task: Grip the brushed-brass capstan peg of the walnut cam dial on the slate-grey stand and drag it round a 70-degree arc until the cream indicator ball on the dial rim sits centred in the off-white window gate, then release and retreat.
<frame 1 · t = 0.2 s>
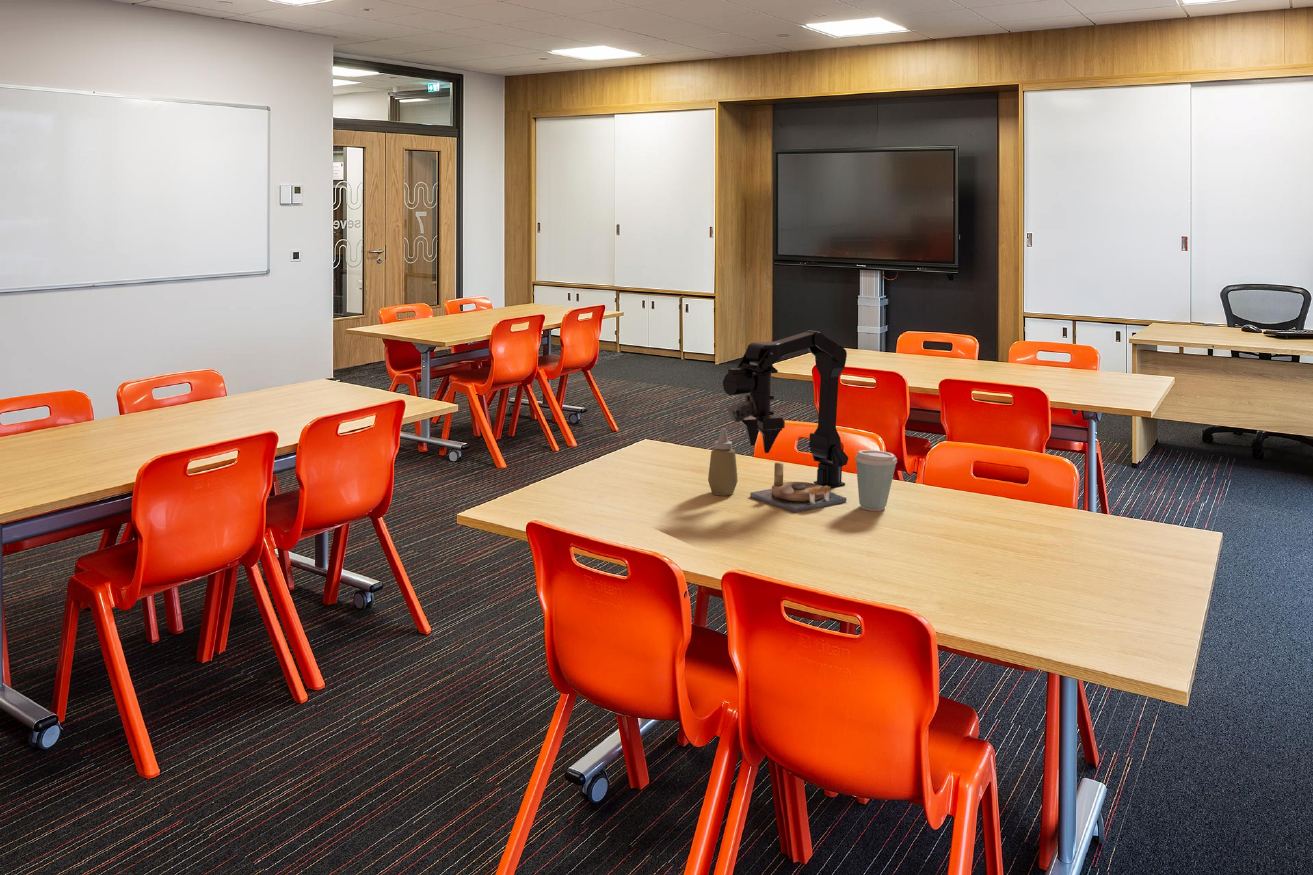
hand: (759, 449, 271), 14 cm above the table, fingers open, 9 cm apart
squeeze bottle: (722, 494, 279), on the table
disposable coffee cup: (873, 508, 265), on the table
level stand: (797, 499, 273), on the table
cam dial: (798, 480, 272), point 5 cm above the table, hinge at -70.0°
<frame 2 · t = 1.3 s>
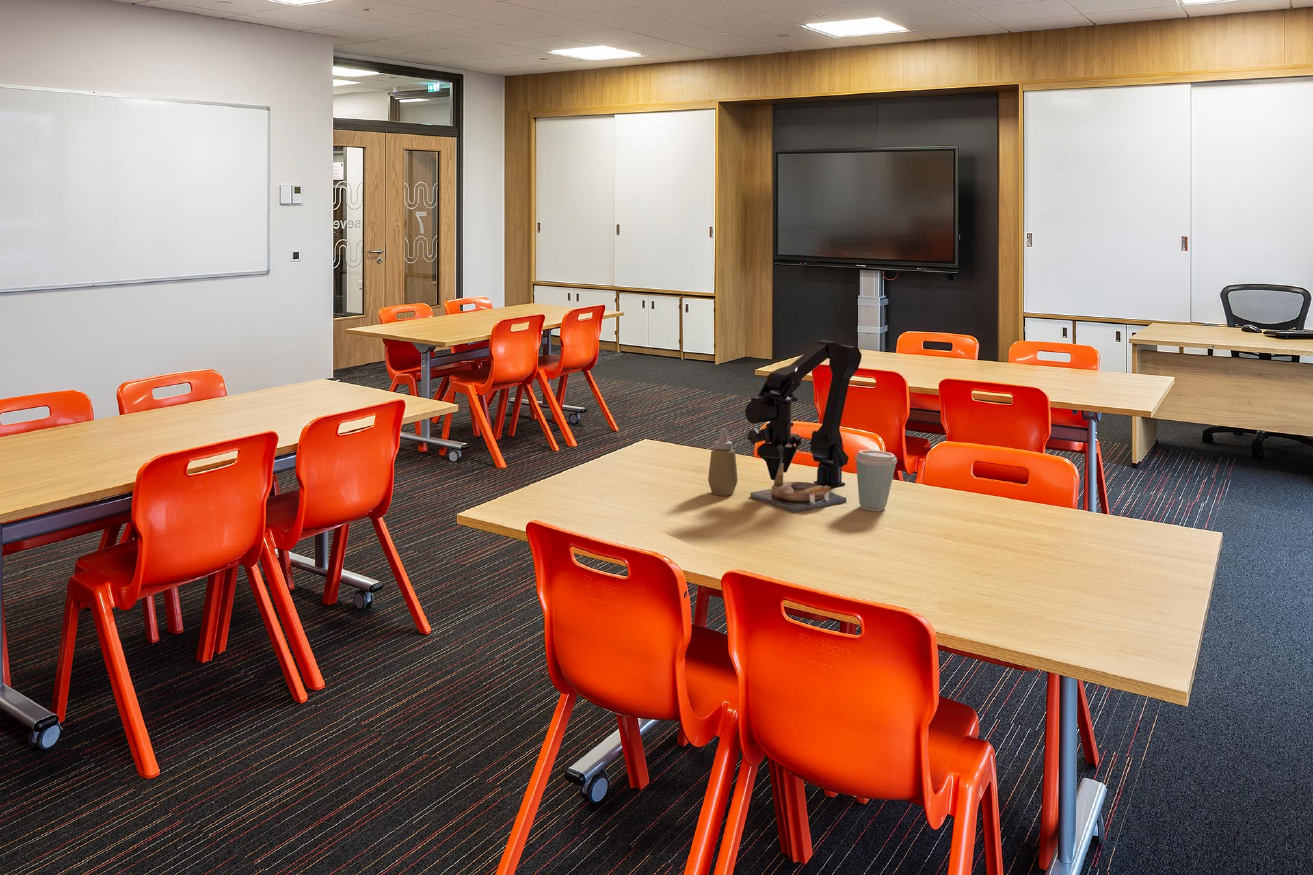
hand: (778, 476, 275), 6 cm above the table, fingers open, 9 cm apart
nothing on the table moved.
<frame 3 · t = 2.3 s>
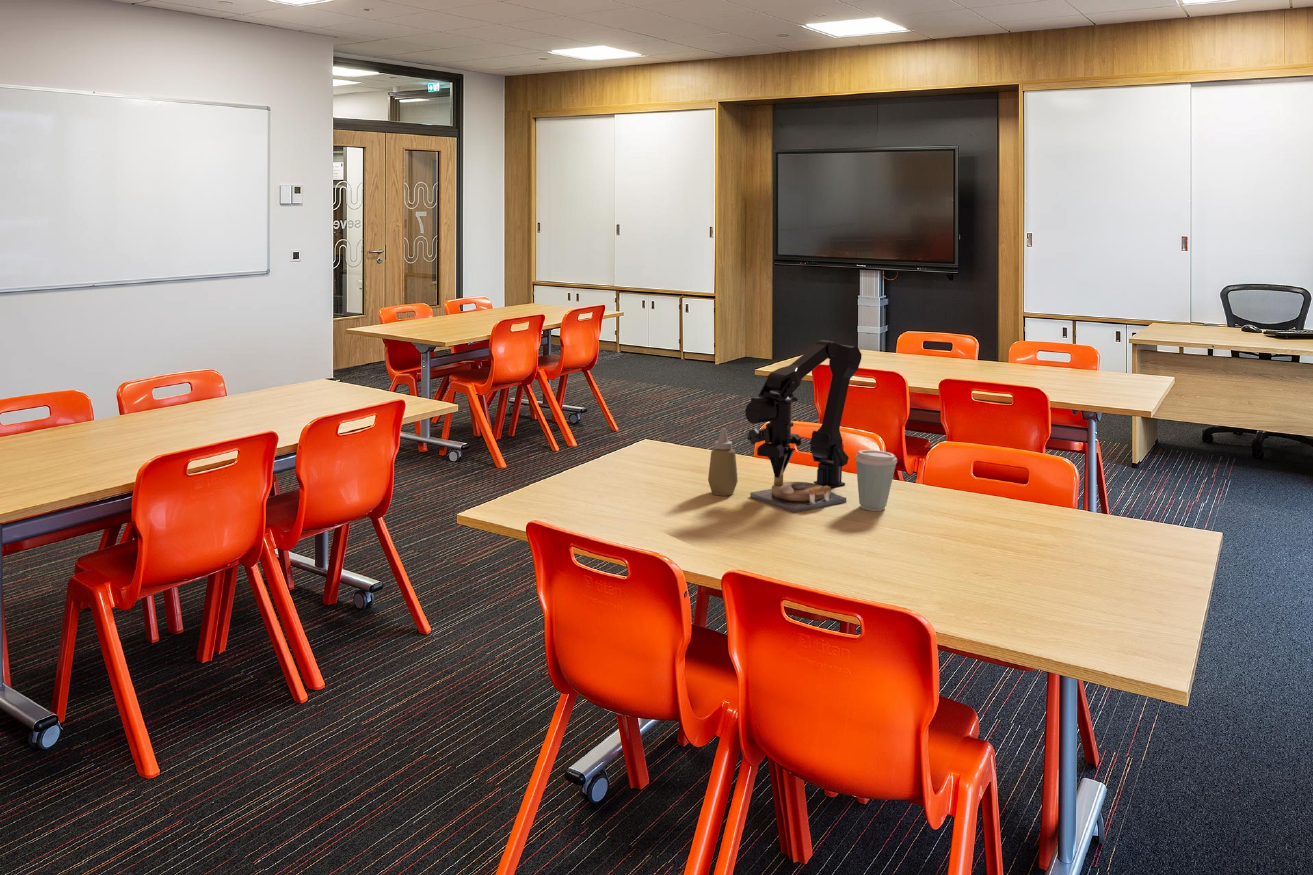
hand: (778, 476, 275), 6 cm above the table, fingers closed on cam dial, 2 cm apart
cam dial: (798, 480, 272), point 5 cm above the table, hinge at -70.0°, touching gripper
everything else where it was.
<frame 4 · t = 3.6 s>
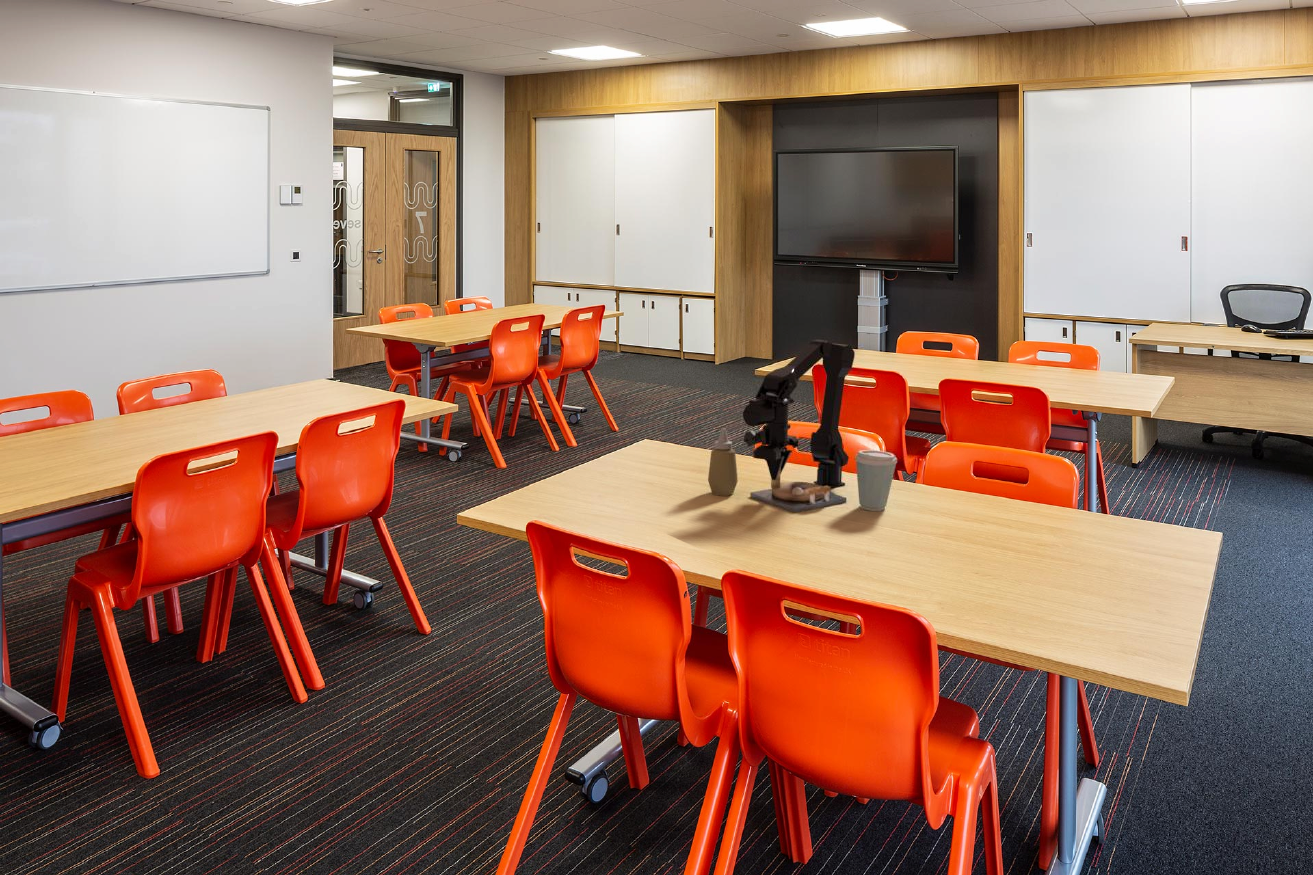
hand: (775, 478, 273), 6 cm above the table, fingers closed on cam dial, 2 cm apart
cam dial: (798, 480, 272), point 5 cm above the table, hinge at -43.5°, touching gripper
everything else where it was.
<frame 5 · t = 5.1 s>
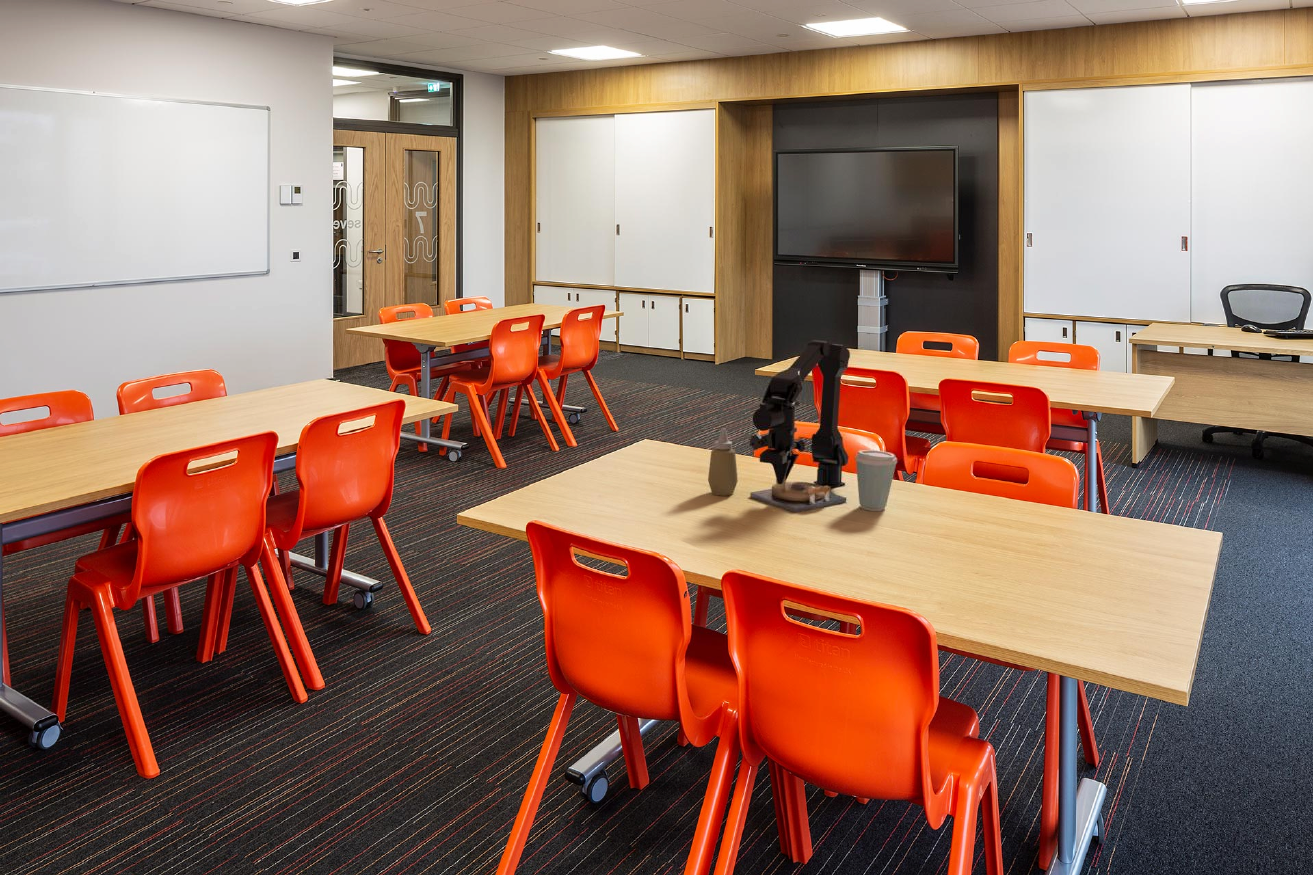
hand: (781, 482, 269), 5 cm above the table, fingers closed on cam dial, 2 cm apart
cam dial: (798, 480, 272), point 5 cm above the table, hinge at -2.0°, touching gripper
everything else where it was.
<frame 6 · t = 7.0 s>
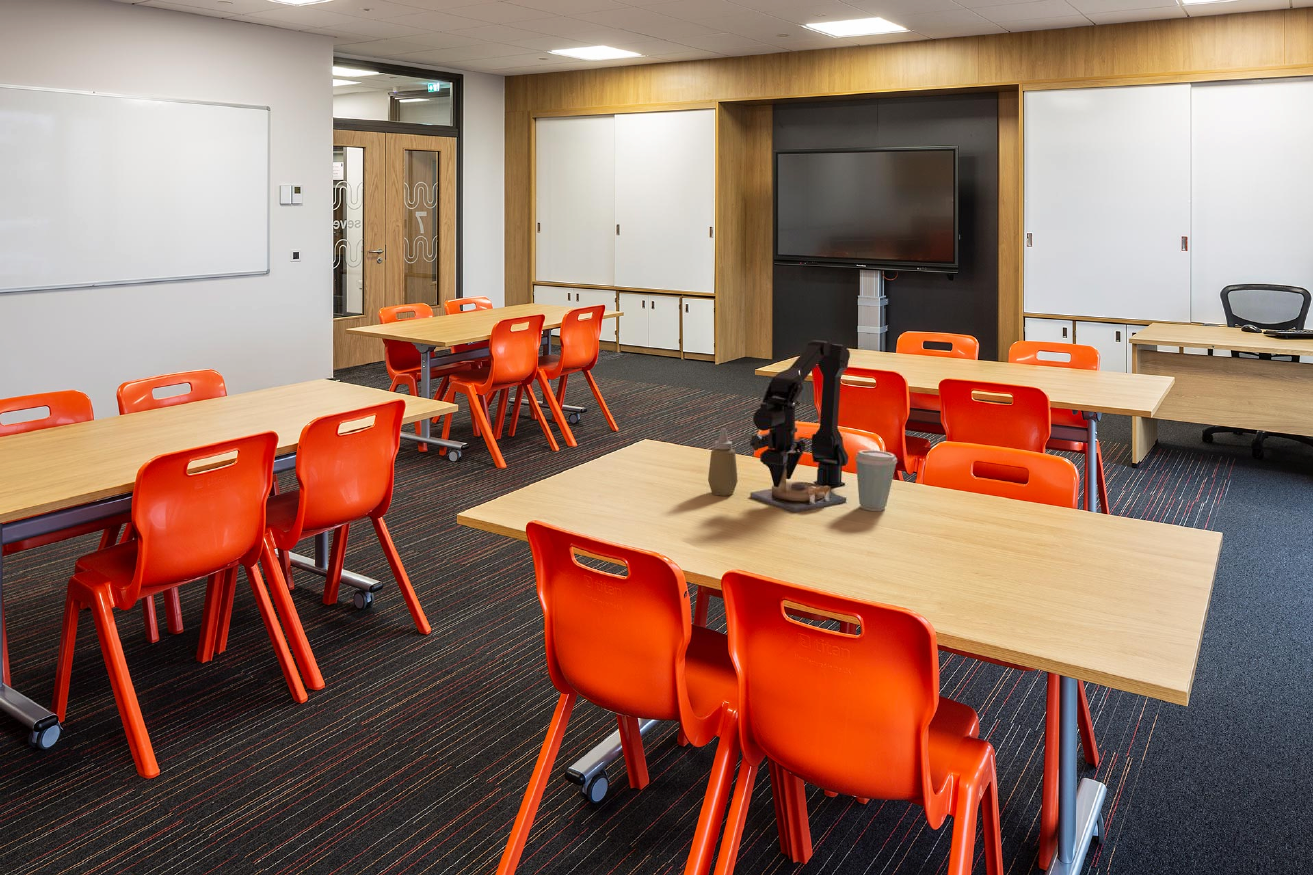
hand: (782, 482, 268), 6 cm above the table, fingers open, 9 cm apart
cam dial: (798, 480, 272), point 5 cm above the table, hinge at 0.9°
everything else where it was.
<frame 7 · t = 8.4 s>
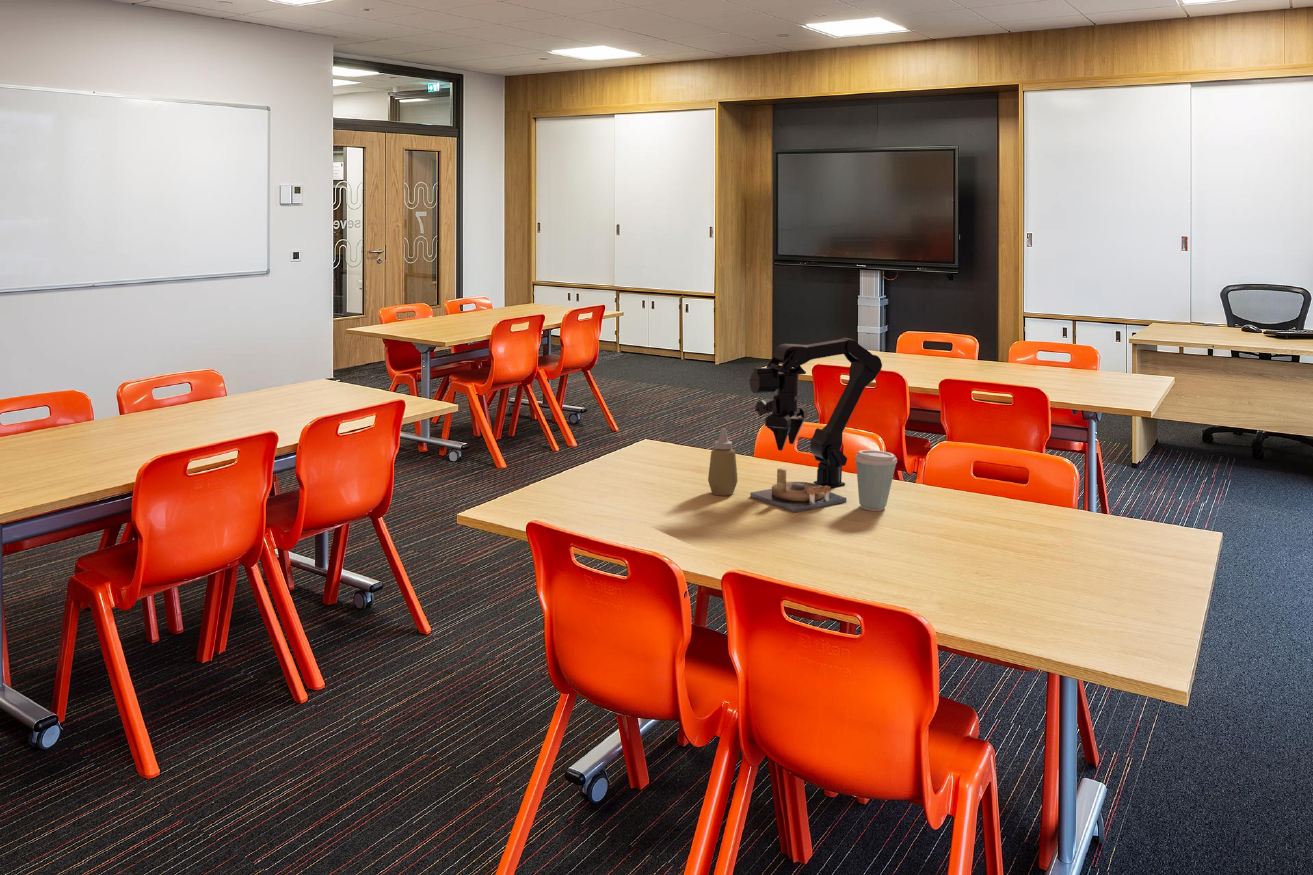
hand: (785, 447, 281), 12 cm above the table, fingers open, 9 cm apart
nothing on the table moved.
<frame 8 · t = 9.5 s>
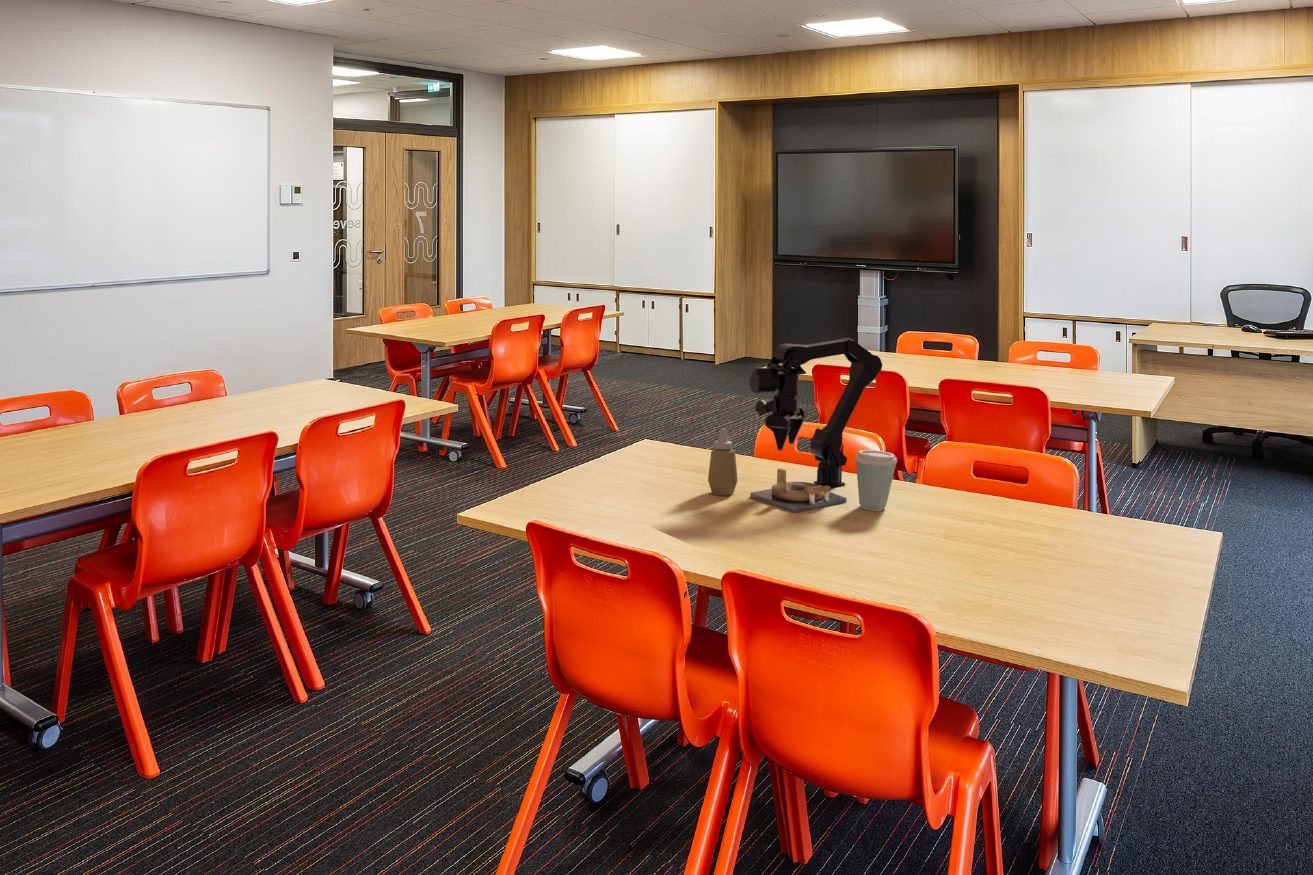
hand: (785, 446, 281), 12 cm above the table, fingers open, 9 cm apart
nothing on the table moved.
at the end: cam dial at +1° (first picture: -70°); the gripper is holding nothing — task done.
